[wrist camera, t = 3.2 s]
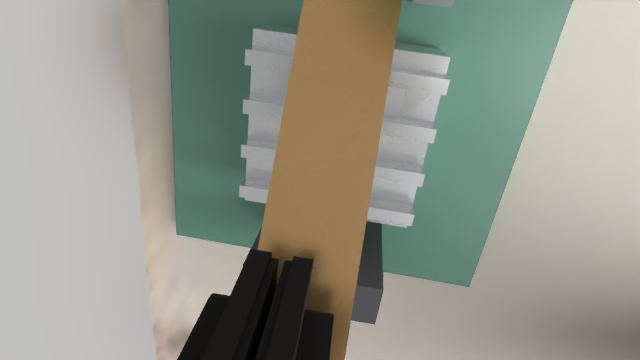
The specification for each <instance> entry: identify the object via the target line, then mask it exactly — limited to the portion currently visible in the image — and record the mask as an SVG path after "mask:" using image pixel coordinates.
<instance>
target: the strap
mask: <svg viewBox="0 0 640 360" xmlns="http://www.w3.org/2000/svg"><path fill="white" fill-rule="evenodd" d="M401 4H402V0H303V5H302V11H301V16H300V22H299V27H298V33H297V38H296V44H295V49H294V55H293V60H292V65H291V71H290V76H289V82H288V87H287V93H286V98H285V104H284V109H283V114H282V120H281V125H280V131H279V136H278V142H277V147H276V153H275V158H274V163H273V169H272V174H271V180H270V185H269V191H268V196H267V202H266V207H265V212H264V218H263V223H262V229H261V234H260V240H259V245H258V250H262V251H268V252H272V258H277V259H278V260H279V262H278V273H277V283H276V288H277V285H278V282H279V278H280V275H281V272H282V268H283V265H284V262H285V260H289V261H292V260H293V257H294V256H298V257H304V258H310V259H314V261H313V268H312V275H311V282H310V289H309V296H308V303H307V309H308V310H314V311H320V312H326V313H331V314H334V320H333V330H332V340H331V350H330V360H344V359H345V352H346V346H347V340H348V334H349V328H350V321H351V315H352V309H353V303H354V296H355V290H356V284H357V278H358V272H359V265H360V259H361V253H362V247H363V240H364V234H365V228H366V222H367V216H368V209H369V203H370V197H371V191H372V184H373V178H374V172H375V166H376V160H377V153H378V147H379V141H380V135H381V128H382V122H383V116H384V110H385V104H386V97H387V91H388V85H389V79H390V72H391V66H392V60H393V54H394V48H395V41H396V35H397V29H398V23H399V16H400V10H401Z"/></svg>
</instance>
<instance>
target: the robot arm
mask: <svg viewBox="0 0 640 360" xmlns="http://www.w3.org/2000/svg"><path fill="white" fill-rule="evenodd" d="M313 261H314V259H310V258H304V257H298V256H294V257H293V260H292V261H289V260H285V262H284V265H283V268H282V272H281V275H280V278H279V282H278V285H277V288H276V283H277V273H278V262H279V260H278V259H277V258H272V252H268V251H262V250H256V249H251V251H250V252H249V255H248V257H247V259H246V261H245V264H244V266H243V268H242V271H241V273H240V275H239V277H238V280H237V282H236V284H235V286H234V289H233V291H232V293H231V295H230V296H226V295H221V294H215V293H213V294H211V295H210V297H209V299H208V300H207V302H206V304H205V306H204V308H203V310H202V312H201V314H200V316H199V318H198V320H197V322H196V324H195V326H194V328H193V330H192V332H191V334H190V336H189V338H188V340H187V342H186V344H185V346H184V347H183V349H182V351H181V353H180V355H179V357H178V359H177V360H330V350H331V340H332V330H333V320H334V314H331V313H326V312H320V311H314V310H308V309H307V303H308V296H309V289H310V282H311V275H312V268H313Z"/></svg>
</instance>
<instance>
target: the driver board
mask: <svg viewBox="0 0 640 360" xmlns="http://www.w3.org/2000/svg"><path fill="white" fill-rule="evenodd" d="M572 1H573V0H454V3H453V7H452V8H449V7H442V6H435V5H427V4H420V3H413V2H409V1H406V0H402V4H401V10H400V16H399V23H398V29H397V35H396V41H395V42H402V43H409V44H416V45H423V46H430V47H437V48H440V49H441V50H443V51H444V52H445V53H446V54H447V55H448V56H450V61H449V65H448V69H447V73H446V76H447V77H448V78H449V79H450V82H449V86H448V90H447V94H446V95H441V96H440V100H439V104H438V108H437V112H436V116H435V120H434V124H435V126H436V129H437V132H436V135H435V139H434V143H433V144H432V143H428V147H427V151H426V155H425V159H424V163H423V168H424V172H425V177H424V181H423V185H422V187H418V186H417V190H416V194H415V198H414V202H413V209H414V214H415V216H414V219H413V223H412V226H407V228H405V227H399V226H393V225H387V224H381V223H375V222H370V221H367V222H366V228H365V234H364V240H363V247H362V253H361V259H360V265H359V272H358V278H357V284H356V290H355V296H354V303H353V309H352V315H351V320H354V321H359V322H365V323H370V324H375V321H376V317H377V313H378V309H379V305H380V301H381V297H382V293H383V272H389V273H395V274H400V275H406V276H411V277H417V278H423V279H428V280H434V281H439V282H445V283H451V284H456V285H462V286H467V287H469V286H470V283H471V280H472V277H473V275H474V272H475V269H476V266H477V263H478V261H479V258H480V255H481V252H482V250H483V247H484V244H485V241H486V239H487V236H488V233H489V230H490V228H491V225H492V222H493V219H494V217H495V214H496V211H497V208H498V206H499V203H500V200H501V197H502V195H503V192H504V189H505V186H506V184H507V181H508V178H509V175H510V172H511V170H512V167H513V164H514V161H515V159H516V156H517V153H518V150H519V148H520V145H521V142H522V139H523V137H524V134H525V131H526V128H527V126H528V123H529V120H530V117H531V115H532V112H533V109H534V106H535V104H536V101H537V98H538V95H539V92H540V90H541V87H542V84H543V81H544V79H545V76H546V73H547V70H548V68H549V65H550V62H551V59H552V57H553V54H554V51H555V48H556V46H557V43H558V40H559V37H560V35H561V32H562V29H563V26H564V24H565V21H566V18H567V15H568V13H569V10H570V7H571V4H572ZM168 3H169V31H170V60H171V89H172V117H173V146H174V175H175V203H176V232H177V235H182V236H188V237H193V238H199V239H205V240H210V241H216V242H221V243H227V244H233V245H238V246H244V247H249V248H251V249H256V250H258V245H259V240H260V234H261V229H262V223H263V218H264V212H265V207H266V204H265V203H259V202H253V201H248V200H245V198H243V197H239V185H240V184H241V182H242V181H243V180H244V178H245V177H246V162H247V158H243V157H241V144H242V143H243V142H244V141H245V140H246V138H247V137H248V122H249V114H243V99H244V98H245V97H247V96H248V95H249V94H250V82H251V66H248V65H245V49H247V48H250V47H252V42H253V28H256V27H260V26H263V25H266V24H270V23H272V24H278V25H285V26H292V27H299V22H300V16H301V11H302V5H303V0H168ZM250 251H251V250H250ZM248 255H249V254H248ZM247 257H248V256H247ZM246 259H247V258H246ZM245 261H246V260H245ZM244 264H245V262H244ZM244 264H243V266H244Z"/></svg>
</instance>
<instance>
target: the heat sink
mask: <svg viewBox="0 0 640 360" xmlns="http://www.w3.org/2000/svg"><path fill="white" fill-rule="evenodd" d="M406 1H409V2H413V3H420V4H427V5H435V6H442V7H449V8H452V7H453V3H454V0H406ZM297 33H298V27H292V26H285V25H278V24H272V23H270V24H266V25H263V26H260V27H256V28H253V42H252V47H250V48H247V49H245V65H248V66H251V82H250V94H249V95H248V96H247V97H245V98H244V99H243V114H249V122H248V137H247V138H246V140H245V141H244V142H243V143H242V144H241V157H243V158H247V162H246V177H245V178H244V180H243V181H242V182H241V184H240V185H239V197H243V198H245V200H248V201H253V202H259V203H265V204H266V202H267V196H268V191H269V185H270V180H271V174H272V169H273V163H274V158H275V153H276V147H277V142H278V136H279V131H280V125H281V120H282V114H283V109H284V104H285V98H286V93H287V87H288V82H289V76H290V71H291V65H292V60H293V55H294V49H295V44H296V38H297ZM449 61H450V56H448V55H447V54H446V53H445V52H444V51H443V50H441V49H440V48H437V47H430V46H423V45H416V44H409V43H402V42H395V48H394V54H393V60H392V66H391V72H390V79H389V85H388V91H387V97H386V104H385V110H384V116H383V122H382V128H381V135H380V141H379V147H378V153H377V160H376V166H375V172H374V178H373V184H372V191H371V197H370V203H369V209H368V216H367V221H370V222H375V223H381V224H387V225H393V226H399V227H405V228H407V226H412V223H413V219H414V216H415V214H414V209H413V202H414V198H415V194H416V190H417V186H418V187H422V185H423V181H424V177H425V172H424V168H423V163H424V159H425V155H426V151H427V147H428V143H432V144H433V143H434V139H435V135H436V132H437V129H436V126H435V124H434V120H435V116H436V112H437V108H438V104H439V100H440V96H441V95H446V94H447V90H448V86H449V82H450V79H449V78H448V77H447V76H446V73H447V69H448V65H449Z"/></svg>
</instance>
